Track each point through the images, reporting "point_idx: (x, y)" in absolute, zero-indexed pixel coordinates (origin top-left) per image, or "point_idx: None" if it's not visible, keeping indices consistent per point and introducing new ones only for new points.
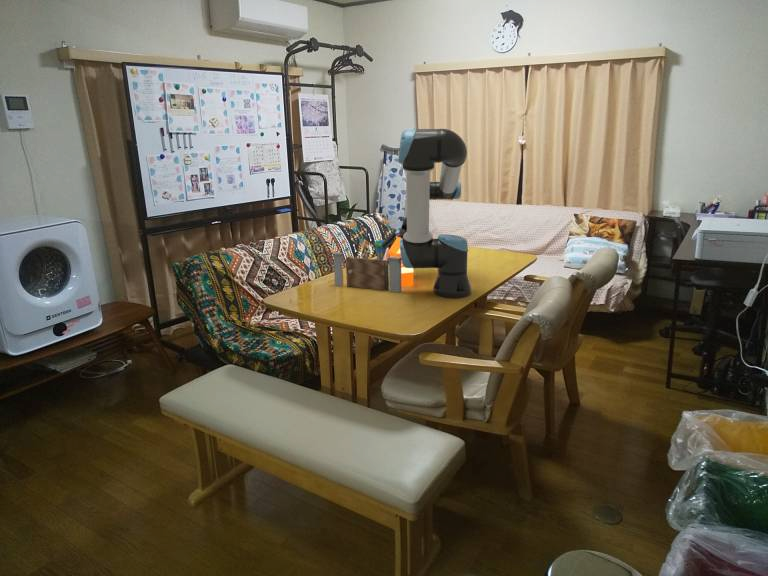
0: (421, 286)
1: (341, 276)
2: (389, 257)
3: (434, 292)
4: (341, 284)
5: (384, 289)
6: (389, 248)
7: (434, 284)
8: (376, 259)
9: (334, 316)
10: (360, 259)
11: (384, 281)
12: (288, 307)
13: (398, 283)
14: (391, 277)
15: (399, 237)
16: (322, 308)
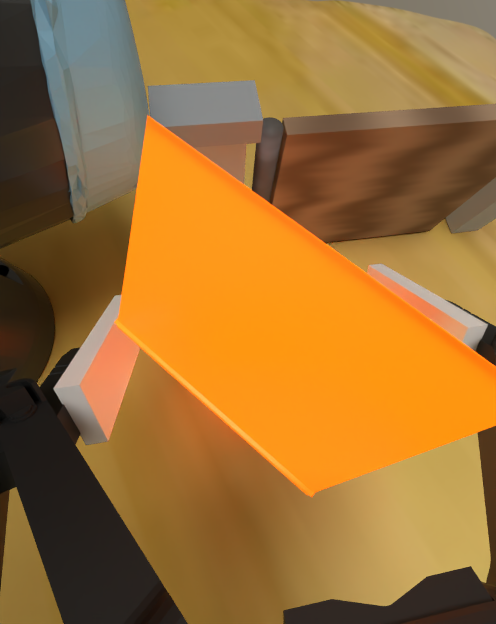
0: (142, 370)
1: (481, 194)
2: (244, 95)
3: (31, 278)
4: (451, 215)
5: None
6: None
7: (14, 288)
8: (356, 128)
9: (248, 7)
10: (458, 111)
11: None
12: (401, 16)
13: None
14: None
15: (430, 322)
16: (319, 37)
